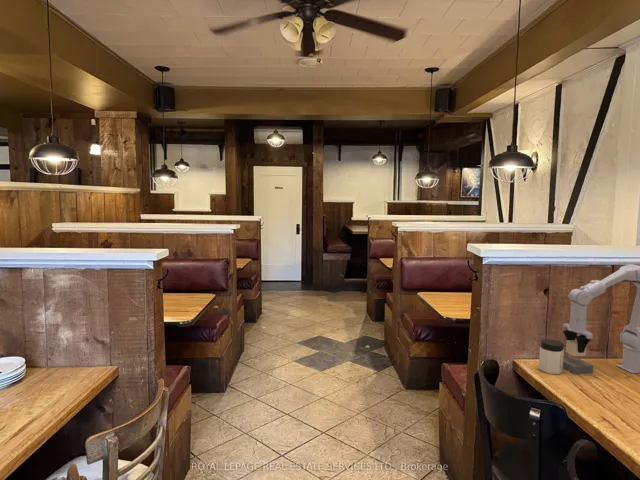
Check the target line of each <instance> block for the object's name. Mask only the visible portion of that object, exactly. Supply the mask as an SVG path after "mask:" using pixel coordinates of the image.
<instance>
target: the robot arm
mask: <svg viewBox="0 0 640 480" xmlns="http://www.w3.org/2000/svg"><path fill="white" fill-rule="evenodd" d="M624 281H631V282H632V283H633V285H635V287H636V288H637V290H636V294H635V299H634V303H633V307H632V312H631V315H630V320H629V323H628V324H626V325H625V326H624V327H623V330H622V331H621V332H620V335H619V341H620V342H621V343H622V347H623V350H622V361H621V364H616V367H619V368H621V369H623V370H625V371H627V372H629V373H631V374H640V265H639V264H638V265H637V264H633V263H626V264H624V265H623V266H620V268H618V270H616V271H615V272H613V273H611V274H610V275H608V276H606V277H605V278H603V279H601V280H598V279H595V280H594V279H592V280H590V281H589V283H587V284H585V285H583V286H582V285H580V287H579V288H574V289H571V291H570V292H569V294H568V295H567V297H568V300H569V303H570V311H569V323H563V324H562V328H563V332H562V333H563V335H564V336H565V339H566V341H567V340H577V344H578V352H579V353H584V351H585V348H586V349H587V346H588V344H589V343H590V341H591V340H592V339H593V337H594V336H593V335H594V333H592V332H590V331H588V330H587V328H586V327H587V314H588V313H587V311H588V305H589V304H590V303H591V302H592V300H593V299H594V298H596V297H598V296H600V295H602V294H604V293H606V291H607V290H606V289H608V288H609V287H611V286H614V285H616V284H618V283H621V282H624Z"/></svg>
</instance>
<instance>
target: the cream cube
mask: <svg viewBox="0 0 640 480" xmlns="http://www.w3.org/2000/svg"><path fill="white" fill-rule="evenodd" d="M586 352H587V347H586V348H585V351H584V353H579V352H578V344H577V339H576V340H567V339H566V344H565V353H567V354H569V355H571V356H573V357H582V356H586V354H587V353H586Z"/></svg>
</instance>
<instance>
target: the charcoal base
mask: <svg viewBox="0 0 640 480" xmlns="http://www.w3.org/2000/svg"><path fill="white" fill-rule="evenodd" d="M563 370H565V371H566V372H569V373H570V374H572V375H580V374H583V375H584V374H593V373H594V365H593V364H591V363H590V362H587V361H585V360H584V359H581V358H578V356H574V357H564V358H563Z"/></svg>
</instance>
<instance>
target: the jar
mask: <svg viewBox="0 0 640 480" xmlns="http://www.w3.org/2000/svg"><path fill="white" fill-rule="evenodd" d="M564 352H565V349H564V342H562V341H559V340H556V339H549V338H547V339H546V338H545V339H541V340H540V347H539V354H538V355H539V356H538V357H539V358H538V369H539V371H542V372H543V373H546V374H552V375H560V374H561V373H562V372H563V371H564V369H563V358H565V357H564V356H565V353H564Z"/></svg>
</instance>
